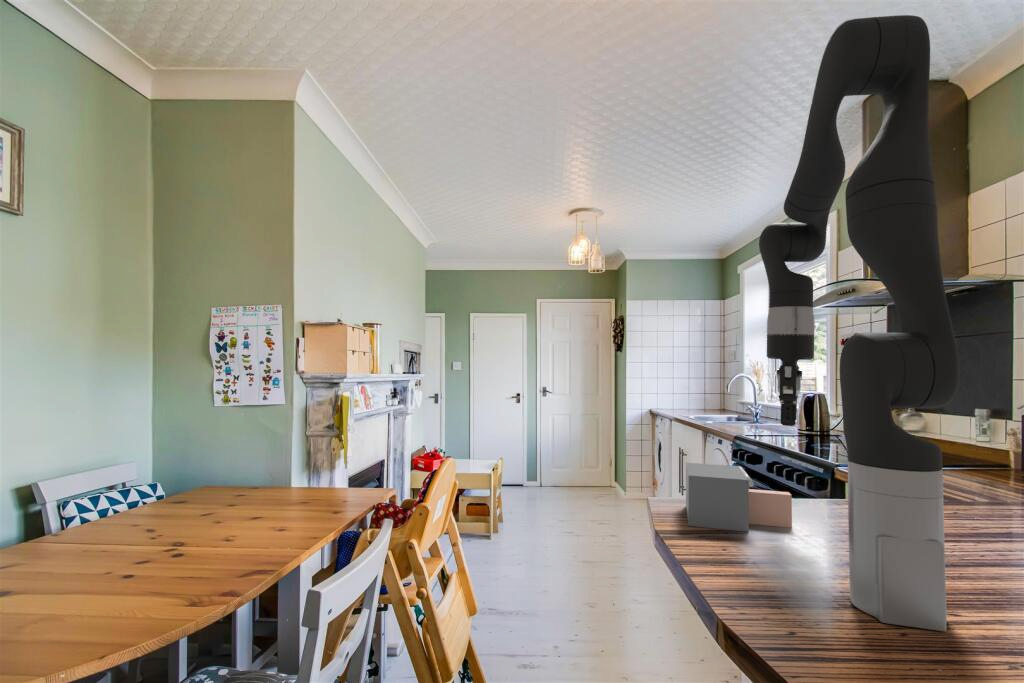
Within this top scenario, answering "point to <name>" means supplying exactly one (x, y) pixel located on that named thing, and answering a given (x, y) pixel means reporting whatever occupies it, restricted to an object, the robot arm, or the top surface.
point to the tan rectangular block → (770, 508)
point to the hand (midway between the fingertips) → (788, 422)
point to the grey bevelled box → (717, 496)
